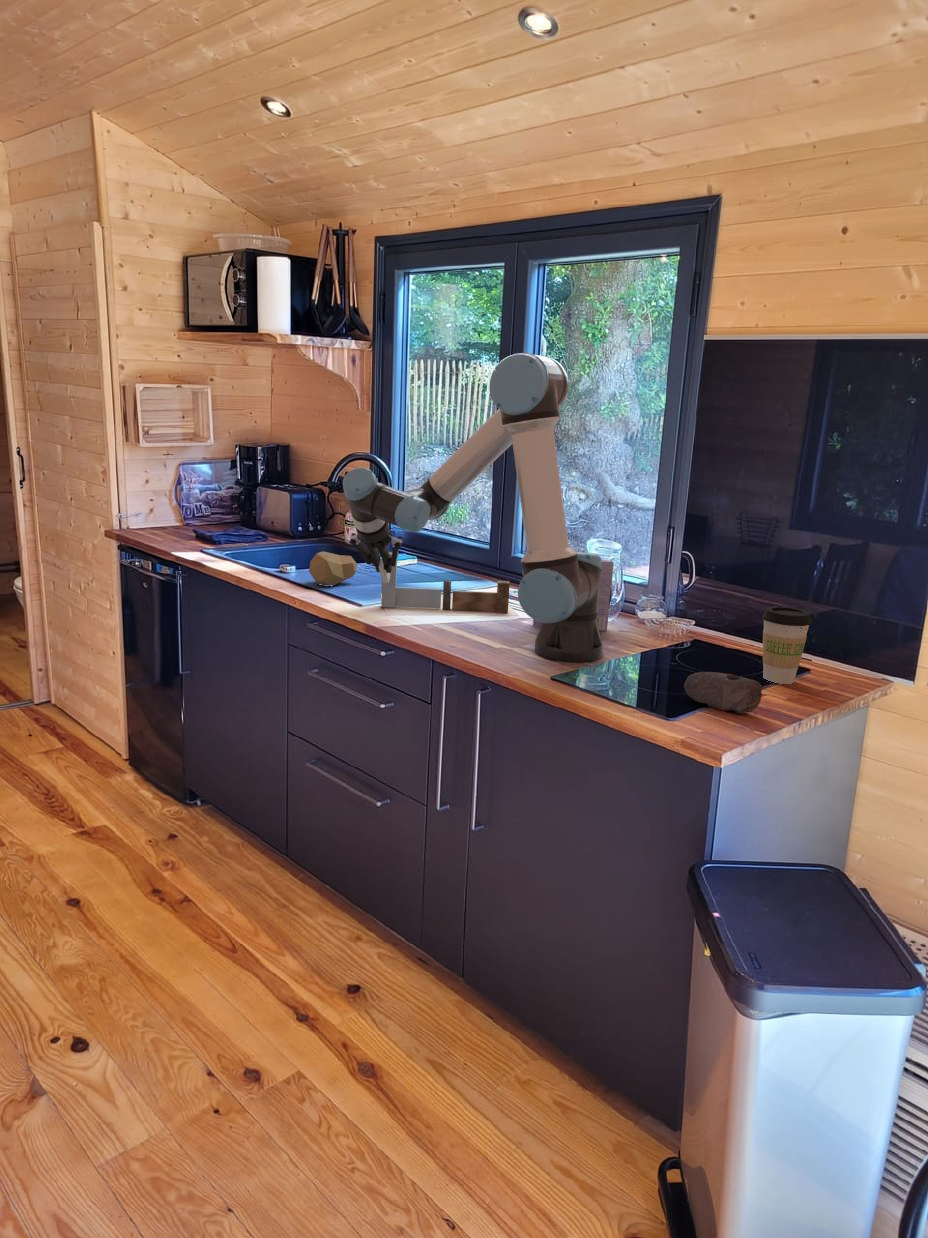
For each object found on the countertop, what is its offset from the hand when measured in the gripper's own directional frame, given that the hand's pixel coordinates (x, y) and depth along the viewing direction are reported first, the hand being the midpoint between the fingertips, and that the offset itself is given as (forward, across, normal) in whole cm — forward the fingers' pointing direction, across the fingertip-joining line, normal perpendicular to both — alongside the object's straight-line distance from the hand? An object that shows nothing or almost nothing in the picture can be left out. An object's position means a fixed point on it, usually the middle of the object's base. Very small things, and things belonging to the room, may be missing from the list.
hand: (386, 577), depth 234 cm
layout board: (+15, -13, -2) cm, 20 cm away
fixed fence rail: (+11, -22, 0) cm, 25 cm away
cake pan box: (+7, -48, +6) cm, 48 cm away
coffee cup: (-13, -93, +26) cm, 97 cm away
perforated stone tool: (-29, -79, +42) cm, 94 cm away
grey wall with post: (+9, -5, +2) cm, 11 cm away
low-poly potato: (+26, +23, -12) cm, 36 cm away
